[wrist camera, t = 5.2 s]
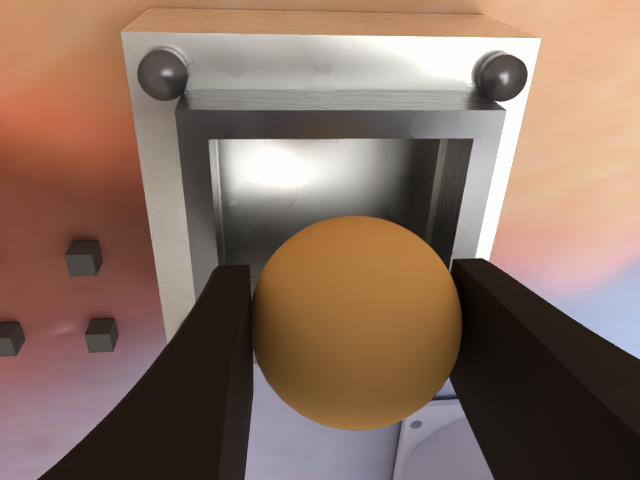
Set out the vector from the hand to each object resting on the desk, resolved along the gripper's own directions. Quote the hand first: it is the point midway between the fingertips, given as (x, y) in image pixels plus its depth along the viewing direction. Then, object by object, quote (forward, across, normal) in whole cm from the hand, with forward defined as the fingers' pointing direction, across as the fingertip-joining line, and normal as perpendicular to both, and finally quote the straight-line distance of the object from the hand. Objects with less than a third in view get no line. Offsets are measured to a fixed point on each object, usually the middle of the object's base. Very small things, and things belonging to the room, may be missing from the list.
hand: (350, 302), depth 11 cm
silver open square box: (+7, 0, 0) cm, 7 cm away
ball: (+1, 0, 0) cm, 1 cm away
